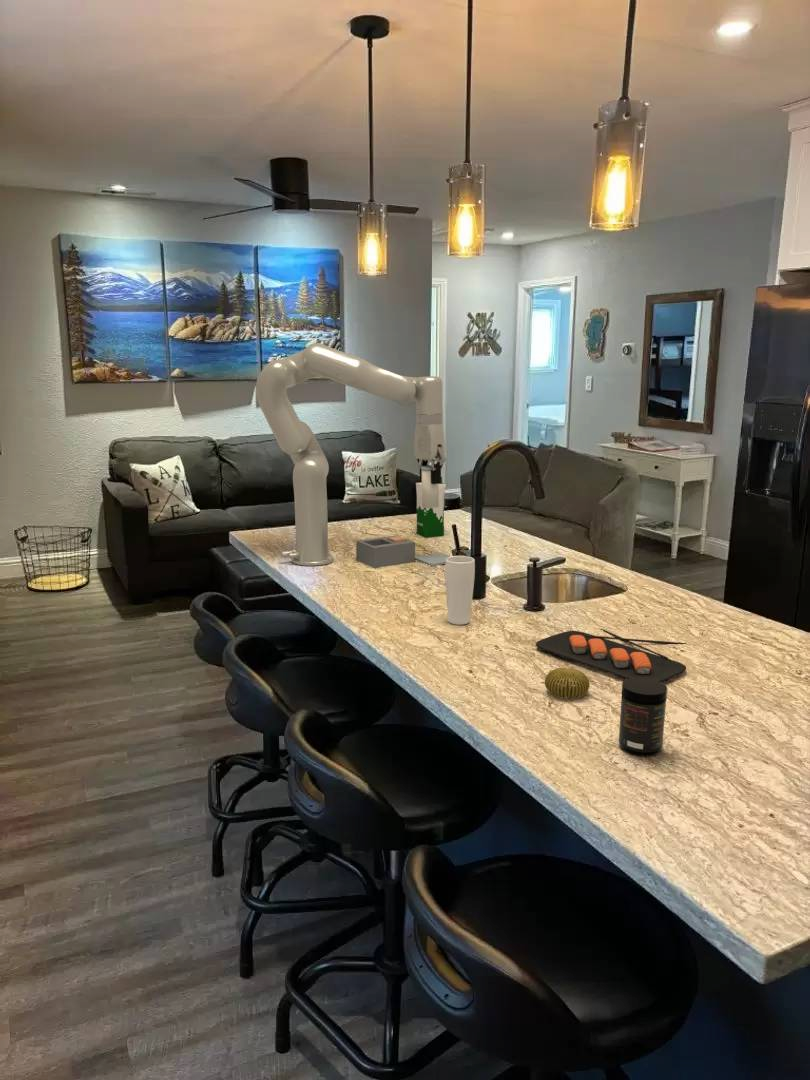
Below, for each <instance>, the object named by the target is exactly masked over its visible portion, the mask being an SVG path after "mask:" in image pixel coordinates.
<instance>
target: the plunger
mask: <svg viewBox="0 0 810 1080" xmlns="http://www.w3.org/2000/svg"><path fill="white" fill-rule="evenodd" d="M387 537H388V536H387ZM406 539H407V538H405V537H403V536H400V535H397V536H396V537H388V540H390V541H392V542H400V541H406Z"/></svg>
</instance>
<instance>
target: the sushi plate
mask: <svg viewBox="0 0 810 1080" xmlns="http://www.w3.org/2000/svg"><path fill="white" fill-rule="evenodd" d="M600 630H601V631H602V630H603V631H602V632H605V633H606V634H608V635H610V636H601V635H600V636H599V635H593V634H591V633H586V632H584V631H579V630H567V631H563V632H559V633H557V634H554V635H550V636H548V637H545V638H542V639H540V640H538V641H537V642H535V646H536V648H539V649H540V650H543V651H545V652H547V653H551V654H553V655H556V656H558V657H561V658H564V659H568V660H570V661H573V662H576V663H578V664H579V663H580V664H583V665H585V666H587V667H590V668H594V669H597V670H599V671H601V672H605V673H607V674H610V675H614V676H616V677H620V678H622V679H624V680H626V679H629V678H649V679H654V680H657V681H659V682H662V683H663V682H666V681H668V680H670V679H672V678H675V677H677V676H679V675H680V674H682V673H684V672H685V671H686V670H687V666H686V665H685V664H683V663H682V662H679V661H677V660H673V659H670V658H669V657H668V656H666V655H663V654H661V653H659V652H656V651H654V650H651V649H649V648H646V647H645V646H642V645H640V644H638V643H639V642H640V643H650V644H658V645H659V644H660V645H667V644H687V642H676V641H664V640H652V639H651V640H649V639H635V638H624V637H622V636H620V635H617V634H615V633H614V632H613V633H612V632H610V631H607V630H606V629H603V628H600ZM611 635H612V636H611ZM613 640H617V641H619V640H620V641H622V642H625V643H628V644H630V645H632V646H629V645H626V644H623V643H619V642H616V641H613ZM635 642H637V643H635ZM633 646H635V647H638V648H635V647H633ZM641 649H642V650H641Z"/></svg>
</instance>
